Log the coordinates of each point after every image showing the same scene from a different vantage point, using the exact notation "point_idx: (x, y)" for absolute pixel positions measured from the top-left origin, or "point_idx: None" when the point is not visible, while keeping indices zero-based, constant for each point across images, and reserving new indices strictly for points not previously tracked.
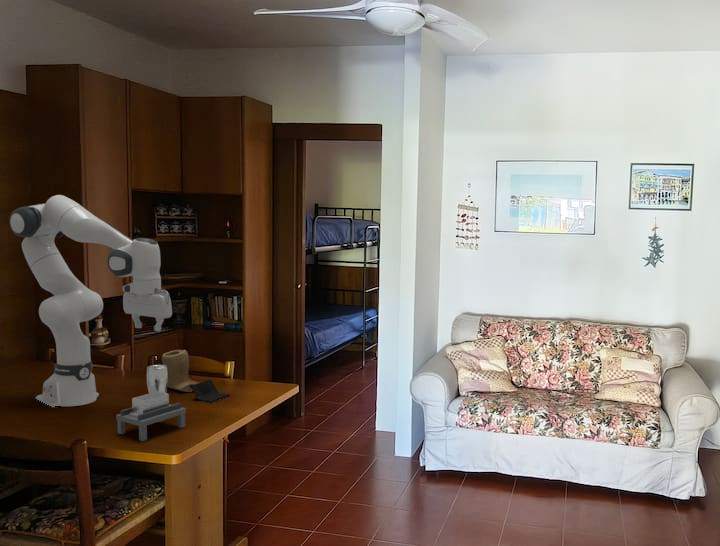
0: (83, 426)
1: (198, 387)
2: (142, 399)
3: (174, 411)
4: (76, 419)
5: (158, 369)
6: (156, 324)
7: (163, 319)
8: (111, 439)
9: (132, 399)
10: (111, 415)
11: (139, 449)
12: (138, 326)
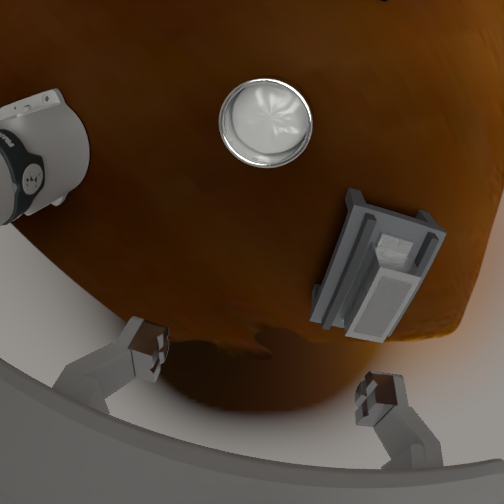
0: (210, 275)
1: None
2: (376, 336)
3: (429, 263)
4: (159, 244)
5: (298, 154)
6: (385, 439)
7: (439, 450)
8: None
9: (346, 334)
10: (201, 194)
11: (394, 334)
12: (164, 357)
